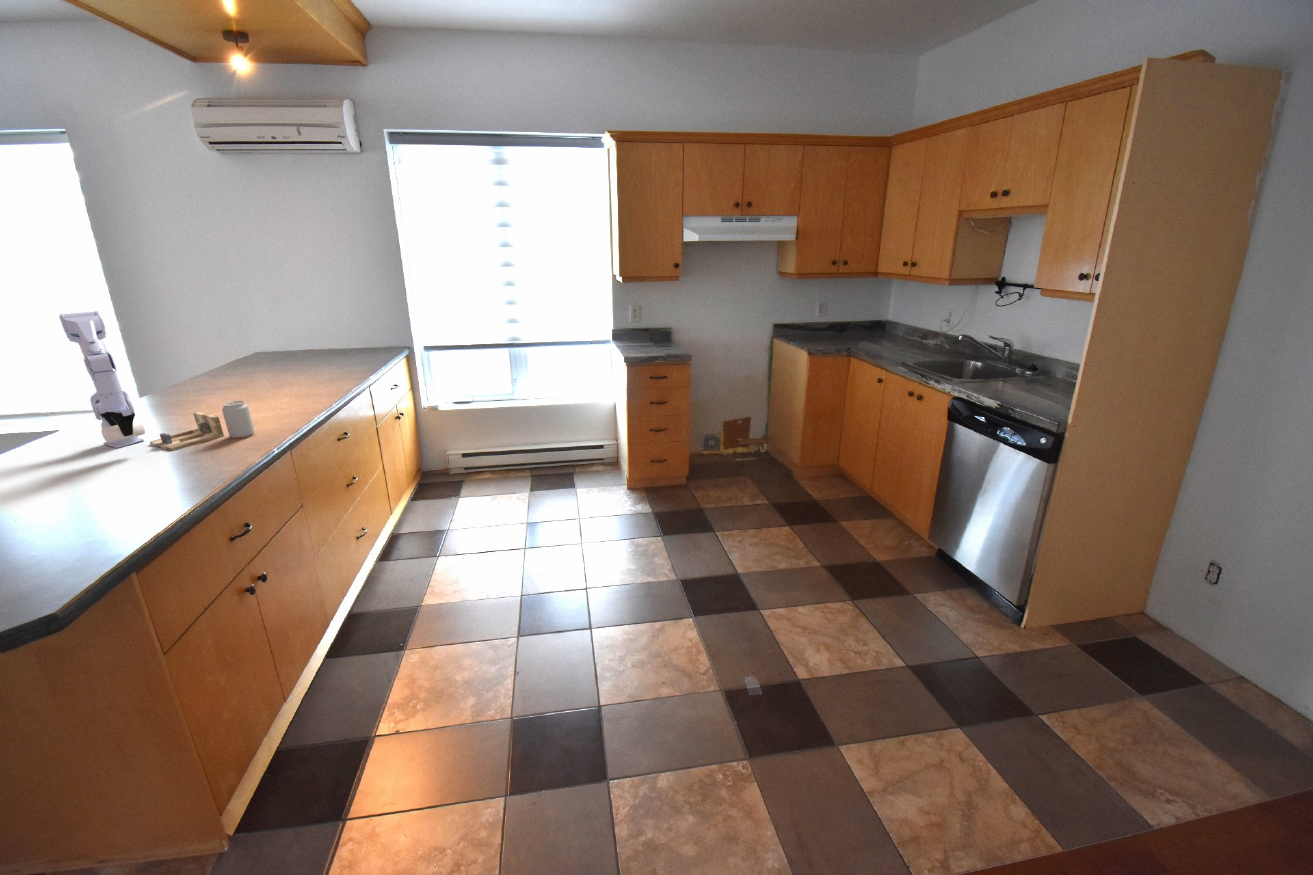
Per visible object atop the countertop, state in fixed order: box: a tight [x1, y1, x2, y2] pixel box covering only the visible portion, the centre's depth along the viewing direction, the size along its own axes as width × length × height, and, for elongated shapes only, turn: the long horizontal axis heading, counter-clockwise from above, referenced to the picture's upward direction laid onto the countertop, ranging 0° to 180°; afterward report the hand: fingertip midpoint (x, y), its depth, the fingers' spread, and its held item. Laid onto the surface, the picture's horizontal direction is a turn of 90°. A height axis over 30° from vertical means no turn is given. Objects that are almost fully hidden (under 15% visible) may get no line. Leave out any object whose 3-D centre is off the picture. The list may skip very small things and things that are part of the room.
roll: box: [101, 419, 146, 443], centre depth 188 cm, size 5×9×5 cm, turn 152°
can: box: [221, 400, 255, 439], centre depth 206 cm, size 8×8×12 cm
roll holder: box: [149, 411, 225, 452], centre depth 203 cm, size 14×16×7 cm
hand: (124, 434), depth 189 cm, fingers closed on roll, 5 cm apart
